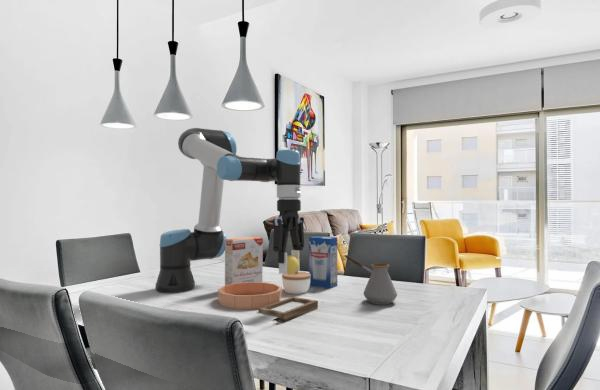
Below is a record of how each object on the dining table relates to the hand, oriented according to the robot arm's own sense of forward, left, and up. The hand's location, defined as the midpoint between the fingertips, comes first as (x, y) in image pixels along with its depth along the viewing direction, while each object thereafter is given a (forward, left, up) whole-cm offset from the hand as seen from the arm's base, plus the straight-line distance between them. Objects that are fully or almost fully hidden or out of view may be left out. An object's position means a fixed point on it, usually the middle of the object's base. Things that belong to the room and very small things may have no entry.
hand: (289, 271), depth 128 cm
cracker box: (-31, +12, -13) cm, 35 cm away
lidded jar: (-12, +20, -13) cm, 27 cm away
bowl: (-17, 0, -13) cm, 21 cm away
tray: (0, 0, -13) cm, 13 cm away
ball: (0, 0, -1) cm, 1 cm away
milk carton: (-12, +39, -13) cm, 43 cm away
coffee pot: (+13, +29, -13) cm, 35 cm away
